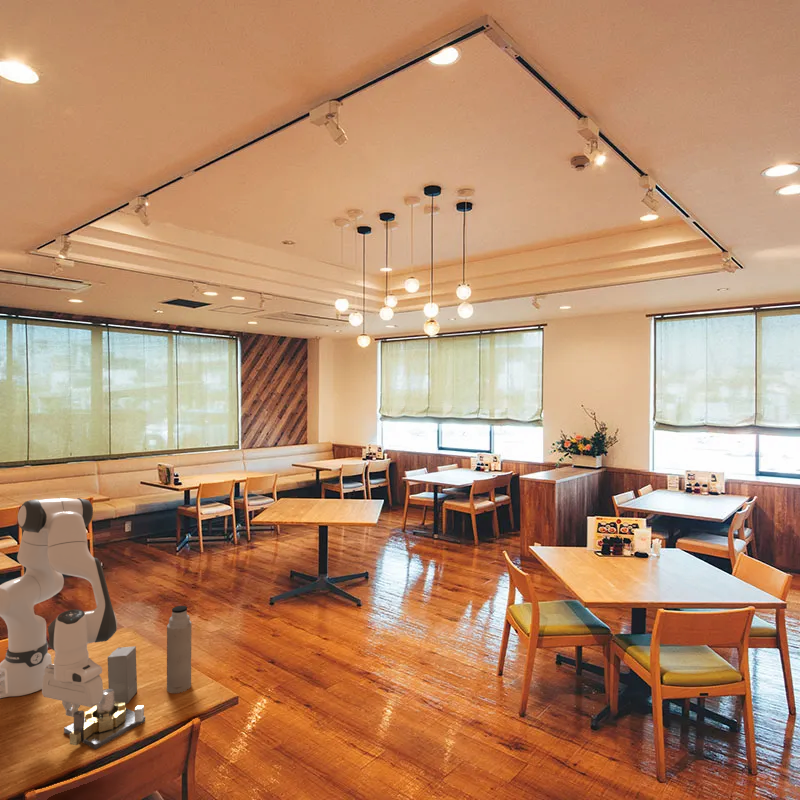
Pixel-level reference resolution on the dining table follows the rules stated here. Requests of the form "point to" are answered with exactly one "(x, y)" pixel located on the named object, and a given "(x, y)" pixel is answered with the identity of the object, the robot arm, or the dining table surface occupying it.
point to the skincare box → (123, 673)
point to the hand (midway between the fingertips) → (71, 715)
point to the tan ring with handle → (95, 722)
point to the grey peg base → (106, 736)
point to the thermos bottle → (179, 651)
